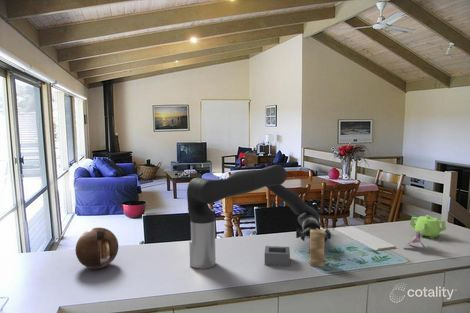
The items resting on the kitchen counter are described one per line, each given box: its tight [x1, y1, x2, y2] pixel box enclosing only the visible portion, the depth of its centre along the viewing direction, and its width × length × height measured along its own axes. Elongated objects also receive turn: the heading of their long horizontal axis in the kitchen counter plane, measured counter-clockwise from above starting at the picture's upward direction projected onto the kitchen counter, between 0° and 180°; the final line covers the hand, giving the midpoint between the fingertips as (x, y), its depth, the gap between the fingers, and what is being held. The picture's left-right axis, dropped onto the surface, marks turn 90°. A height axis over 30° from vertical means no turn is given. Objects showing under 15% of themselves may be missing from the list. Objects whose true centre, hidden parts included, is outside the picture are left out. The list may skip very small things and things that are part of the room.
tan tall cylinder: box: [309, 229, 325, 267], centre depth 136 cm, size 5×4×13 cm
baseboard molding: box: [332, 223, 397, 252], centre depth 166 cm, size 31×3×12 cm
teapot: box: [409, 214, 447, 240], centre depth 169 cm, size 12×12×10 cm
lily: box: [403, 228, 427, 251], centre depth 152 cm, size 12×12×10 cm
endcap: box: [264, 245, 291, 267], centre depth 139 cm, size 10×8×5 cm
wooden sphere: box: [75, 227, 119, 270], centre depth 134 cm, size 15×15×15 cm
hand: (314, 239), depth 145 cm, fingers open, 8 cm apart
